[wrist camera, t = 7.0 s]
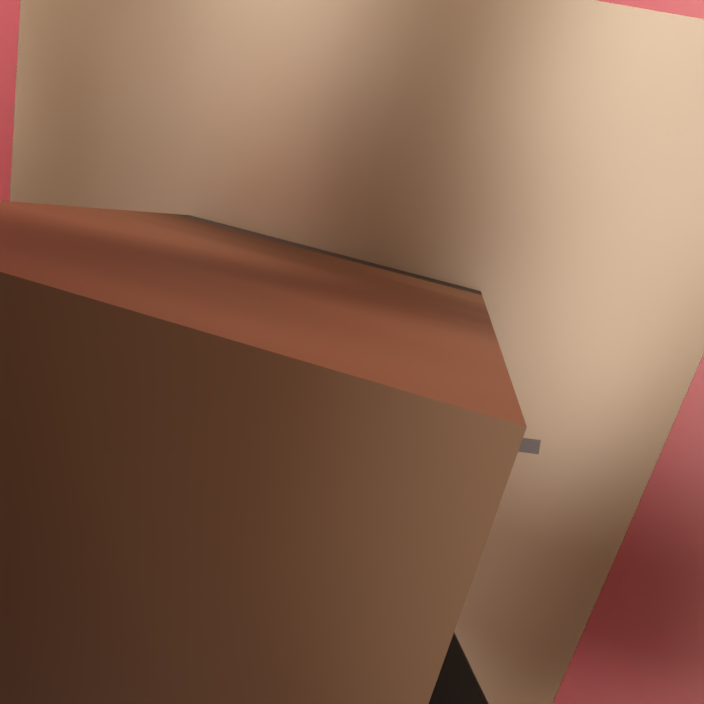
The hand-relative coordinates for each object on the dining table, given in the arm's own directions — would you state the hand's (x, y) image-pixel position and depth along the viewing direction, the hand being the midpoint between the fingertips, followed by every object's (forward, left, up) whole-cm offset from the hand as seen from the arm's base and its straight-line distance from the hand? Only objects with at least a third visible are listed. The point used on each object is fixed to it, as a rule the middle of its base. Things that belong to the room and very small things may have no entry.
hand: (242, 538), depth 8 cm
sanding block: (0, 0, -2) cm, 2 cm away
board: (0, +2, -3) cm, 3 cm away
